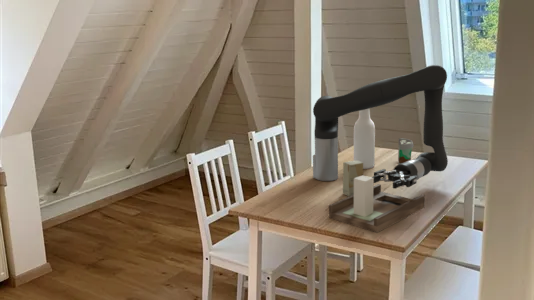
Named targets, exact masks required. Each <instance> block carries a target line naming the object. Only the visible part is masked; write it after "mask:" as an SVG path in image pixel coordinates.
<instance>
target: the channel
mask: <svg viewBox="0 0 534 300" xmlns="http://www.w3.org/2000/svg"><path fill="white" fill-rule="evenodd" d="M425 198H426V195H425V194H420V195H418V196H416V197H414V198H409V197H405V196H401V195H397V194H393V193H389V192H386V191H385V192H384V191H382V185H381V184H380V183H379V184H375V185H373V213H372V214H370V215H368V216H366V217H364V216H361V215H357V214H354V195H352V196H347V197H345V198H343V199H342V198H341V199H340V200H338V201H335V202H334V203H331V204H329V205H328V215H329V216H328V217H329V219H332V220H335V221H338V222H342V223H345V224H348V225H352V226H355V227H358V228H360V229H364V230H366V231H367V230H368V231H371V232H374V233H379V232H381V231H382V230H384V229H387V228H389V227H390V226H393V225H394V224H396V223H398V222H400V221H402V220H404V219H406V218H407V217H409V216H411V215H413V214H416V213H418V212H419V211H421V210H423V209H425V202H426V201H425V200H426V199H425Z"/></svg>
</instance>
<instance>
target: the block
mask: <svg viewBox="0 0 534 300" xmlns="http://www.w3.org/2000/svg"><path fill="white" fill-rule="evenodd" d="M372 177H373V176H367V175H364V174H363V175H362V176H359V177H356V178H354V214H357V215H361V216H364V217H366V216H368V215H370V214H372V213H373V186H375V185H374V184H375V183H374V178H372Z"/></svg>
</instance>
